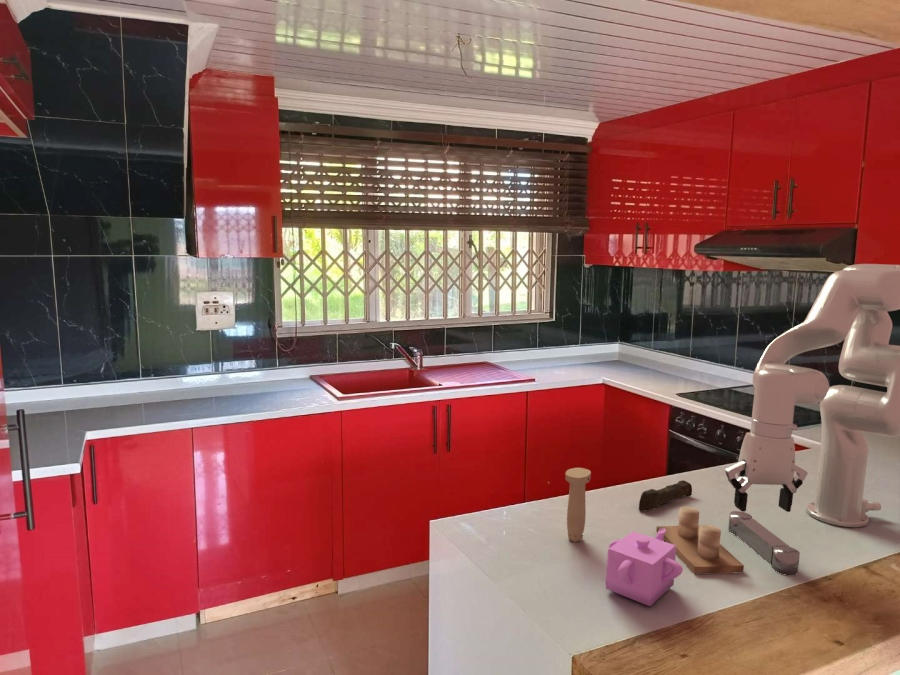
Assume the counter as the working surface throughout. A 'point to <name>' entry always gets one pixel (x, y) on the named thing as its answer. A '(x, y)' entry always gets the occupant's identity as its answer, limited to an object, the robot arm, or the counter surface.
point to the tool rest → (700, 545)
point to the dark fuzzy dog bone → (664, 495)
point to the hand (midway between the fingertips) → (762, 509)
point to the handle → (576, 502)
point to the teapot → (642, 567)
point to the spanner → (764, 543)
